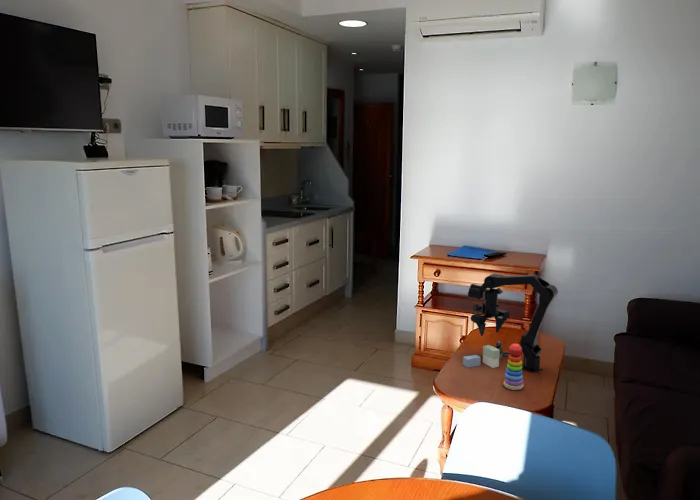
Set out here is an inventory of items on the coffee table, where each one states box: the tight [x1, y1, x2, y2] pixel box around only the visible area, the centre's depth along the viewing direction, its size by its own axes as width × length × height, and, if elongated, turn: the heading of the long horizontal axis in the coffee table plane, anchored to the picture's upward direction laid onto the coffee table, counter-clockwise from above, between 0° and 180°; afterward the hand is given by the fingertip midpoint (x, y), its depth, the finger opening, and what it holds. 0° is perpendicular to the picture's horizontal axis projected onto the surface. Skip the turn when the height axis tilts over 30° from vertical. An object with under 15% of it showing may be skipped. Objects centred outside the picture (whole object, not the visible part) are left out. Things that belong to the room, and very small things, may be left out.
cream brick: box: [482, 354, 500, 369], centre depth 246 cm, size 7×4×4 cm, turn 24°
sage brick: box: [482, 344, 500, 360], centre depth 245 cm, size 7×4×4 cm, turn 27°
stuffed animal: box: [494, 341, 511, 359], centre depth 260 cm, size 12×10×12 cm
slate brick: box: [462, 354, 482, 368], centre depth 246 cm, size 7×4×4 cm, turn 111°
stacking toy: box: [503, 343, 524, 391], centre depth 222 cm, size 8×8×19 cm
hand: (489, 334), depth 250 cm, fingers open, 9 cm apart
